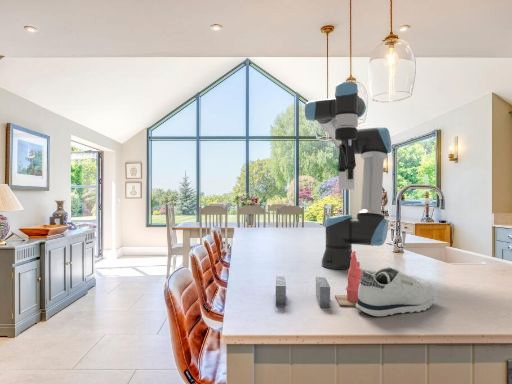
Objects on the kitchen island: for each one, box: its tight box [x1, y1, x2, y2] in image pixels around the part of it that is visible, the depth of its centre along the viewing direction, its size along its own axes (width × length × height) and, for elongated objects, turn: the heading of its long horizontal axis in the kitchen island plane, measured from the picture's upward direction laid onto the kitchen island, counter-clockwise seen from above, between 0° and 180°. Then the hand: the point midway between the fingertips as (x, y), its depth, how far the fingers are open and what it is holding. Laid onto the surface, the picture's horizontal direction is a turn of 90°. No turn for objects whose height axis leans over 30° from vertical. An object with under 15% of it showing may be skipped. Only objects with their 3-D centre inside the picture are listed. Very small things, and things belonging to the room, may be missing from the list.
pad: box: [334, 294, 357, 308], centre depth 113 cm, size 10×10×1 cm
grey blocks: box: [275, 276, 331, 308], centre depth 114 cm, size 12×16×6 cm
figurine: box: [344, 250, 364, 302], centre depth 113 cm, size 5×5×15 cm
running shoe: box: [355, 266, 435, 317], centre depth 106 cm, size 11×29×12 cm, turn 121°
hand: (345, 189), depth 127 cm, fingers open, 13 cm apart
